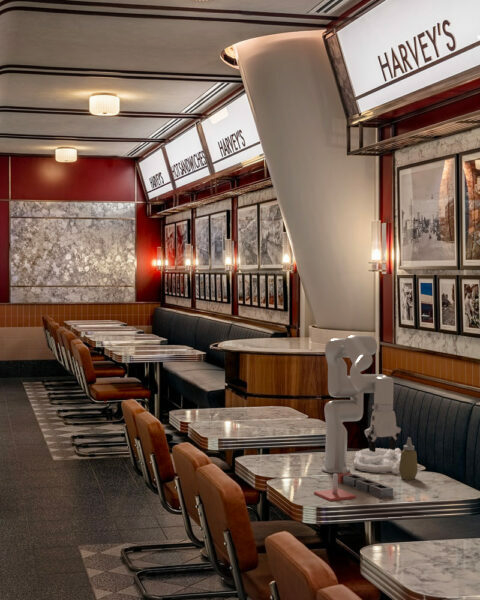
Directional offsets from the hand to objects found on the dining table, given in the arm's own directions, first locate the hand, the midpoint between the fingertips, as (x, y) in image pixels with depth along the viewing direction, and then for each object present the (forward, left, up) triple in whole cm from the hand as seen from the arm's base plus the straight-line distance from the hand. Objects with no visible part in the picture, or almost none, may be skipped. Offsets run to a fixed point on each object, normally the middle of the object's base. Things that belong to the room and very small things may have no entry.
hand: (382, 450), depth 353 cm
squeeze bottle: (-19, +29, -18) cm, 39 cm away
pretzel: (-42, +31, -18) cm, 55 cm away
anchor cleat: (-26, 0, -18) cm, 31 cm away
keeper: (-6, -18, -18) cm, 26 cm away
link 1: (-18, 0, -18) cm, 26 cm away
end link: (0, 0, -18) cm, 18 cm away
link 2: (-9, 0, -18) cm, 20 cm away
